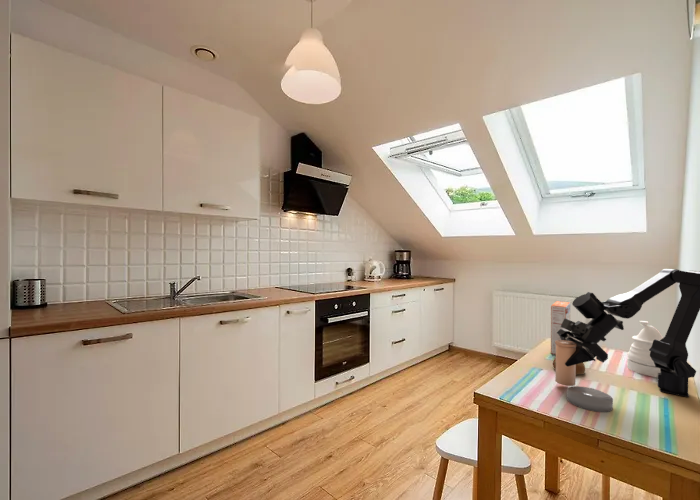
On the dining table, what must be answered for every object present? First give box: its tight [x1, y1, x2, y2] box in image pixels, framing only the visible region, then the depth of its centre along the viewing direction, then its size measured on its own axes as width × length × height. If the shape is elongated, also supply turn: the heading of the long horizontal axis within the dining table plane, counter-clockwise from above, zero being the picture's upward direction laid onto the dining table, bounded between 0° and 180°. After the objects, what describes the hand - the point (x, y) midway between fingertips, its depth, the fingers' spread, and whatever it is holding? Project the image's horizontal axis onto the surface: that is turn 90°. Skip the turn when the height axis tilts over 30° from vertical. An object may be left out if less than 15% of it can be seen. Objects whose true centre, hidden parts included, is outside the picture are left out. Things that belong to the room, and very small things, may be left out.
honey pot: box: [626, 320, 664, 378], centre depth 125 cm, size 13×13×18 cm
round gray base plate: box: [566, 385, 614, 413], centre depth 99 cm, size 11×11×2 cm
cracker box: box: [550, 300, 571, 355], centre depth 147 cm, size 14×6×21 cm, turn 141°
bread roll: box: [552, 357, 586, 376], centre depth 125 cm, size 10×10×8 cm
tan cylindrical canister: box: [554, 340, 577, 387], centre depth 110 cm, size 6×6×13 cm
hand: (561, 362), depth 110 cm, fingers closed on tan cylindrical canister, 5 cm apart
